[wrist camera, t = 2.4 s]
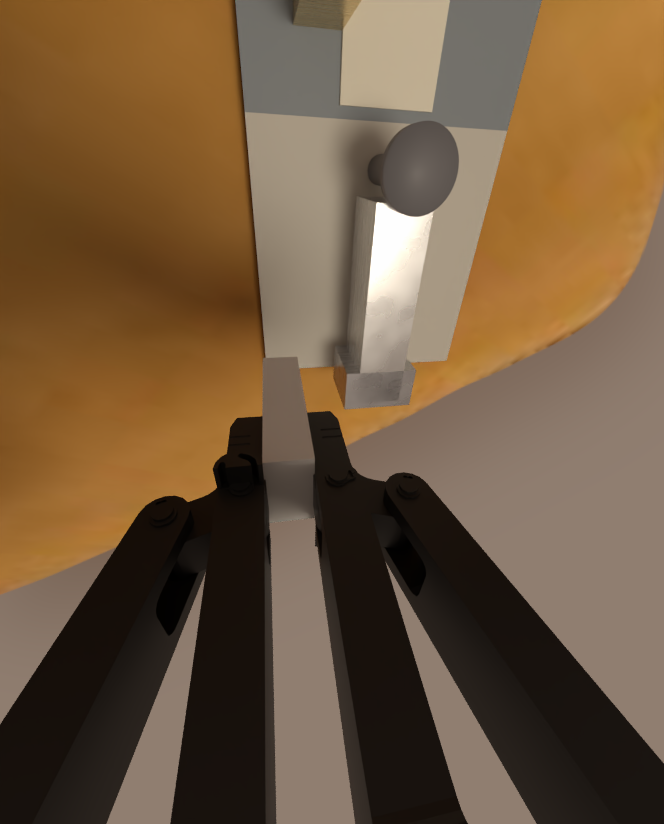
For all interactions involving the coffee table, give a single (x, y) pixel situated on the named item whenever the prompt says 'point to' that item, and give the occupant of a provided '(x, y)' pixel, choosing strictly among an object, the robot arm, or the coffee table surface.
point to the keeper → (323, 13)
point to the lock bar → (381, 306)
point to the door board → (373, 151)
